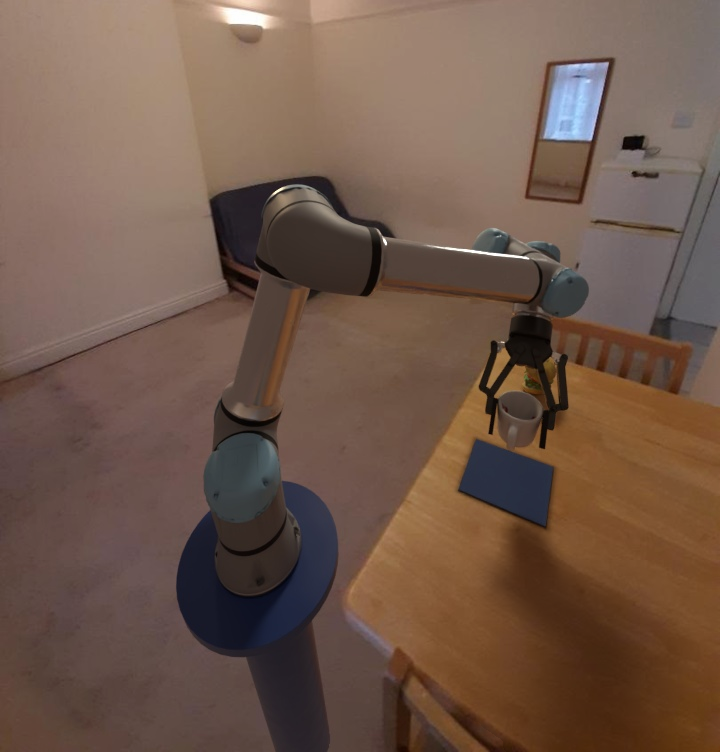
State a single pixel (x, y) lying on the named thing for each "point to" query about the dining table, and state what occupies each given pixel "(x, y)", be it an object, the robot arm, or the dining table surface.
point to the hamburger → (532, 381)
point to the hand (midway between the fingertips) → (515, 441)
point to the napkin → (508, 481)
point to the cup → (518, 418)
